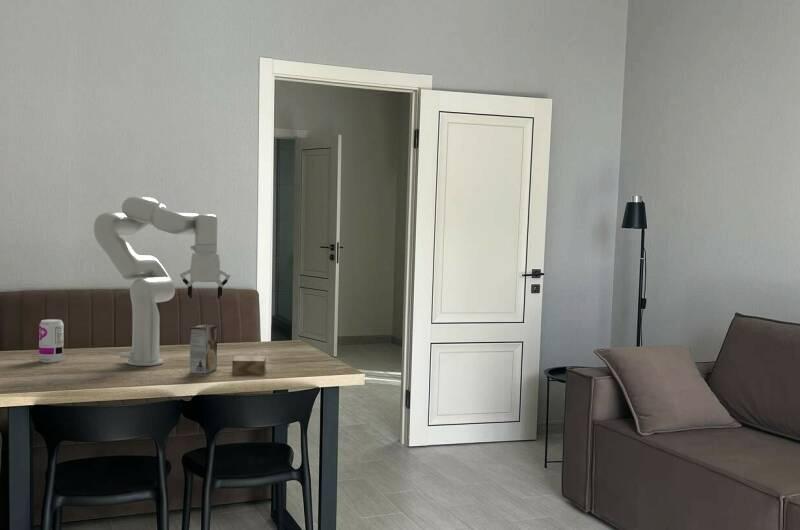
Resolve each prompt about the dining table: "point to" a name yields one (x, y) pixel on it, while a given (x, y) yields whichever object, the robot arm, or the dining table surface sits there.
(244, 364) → the walnut block
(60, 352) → the supplement can
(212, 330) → the coffee box
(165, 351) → the dining table surface
